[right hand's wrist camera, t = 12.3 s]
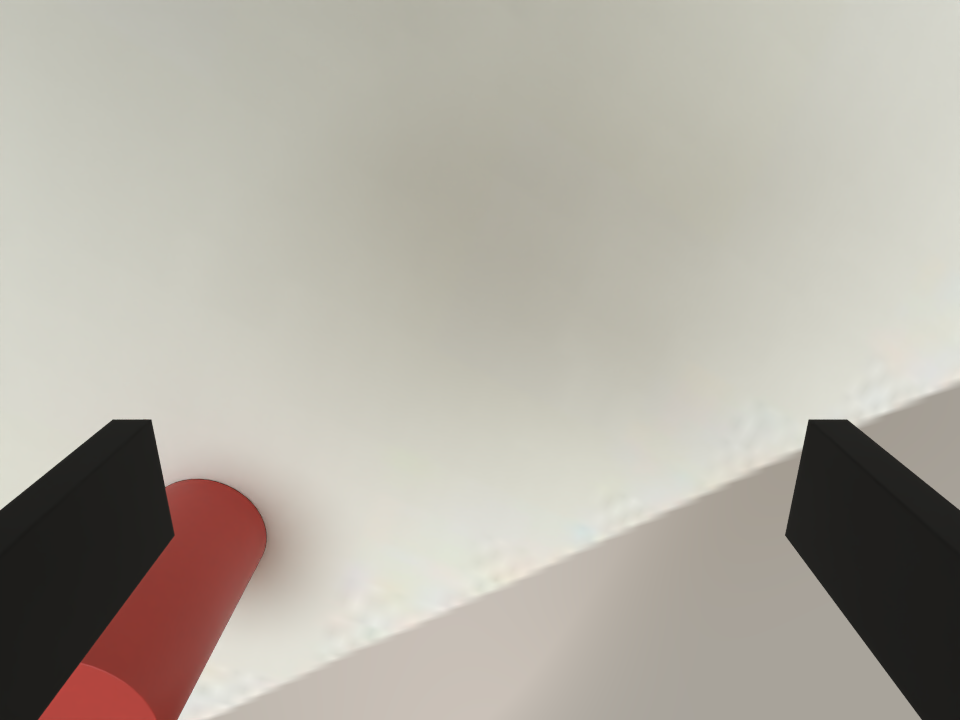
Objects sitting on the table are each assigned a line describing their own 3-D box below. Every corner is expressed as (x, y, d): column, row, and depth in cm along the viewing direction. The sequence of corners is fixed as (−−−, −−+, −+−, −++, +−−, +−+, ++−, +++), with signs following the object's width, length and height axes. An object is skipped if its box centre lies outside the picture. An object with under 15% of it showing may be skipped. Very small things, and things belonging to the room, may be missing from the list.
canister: (185, 456, 34) (28, 627, 22) (290, 526, 36) (195, 721, 24) (122, 537, 36) (-55, 736, 24) (224, 600, 37) (105, 817, 26)
